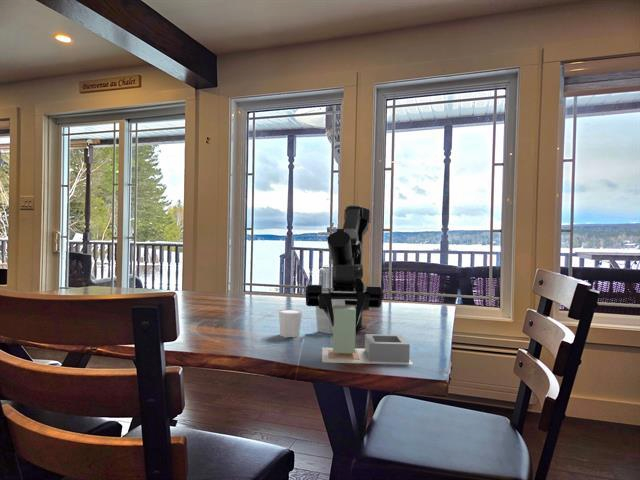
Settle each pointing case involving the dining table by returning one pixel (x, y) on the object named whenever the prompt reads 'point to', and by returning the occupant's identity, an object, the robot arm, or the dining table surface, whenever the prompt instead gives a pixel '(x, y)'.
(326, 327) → the small box
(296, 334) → the white cup
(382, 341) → the white board with socket
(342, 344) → the plug
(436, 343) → the dining table surface
